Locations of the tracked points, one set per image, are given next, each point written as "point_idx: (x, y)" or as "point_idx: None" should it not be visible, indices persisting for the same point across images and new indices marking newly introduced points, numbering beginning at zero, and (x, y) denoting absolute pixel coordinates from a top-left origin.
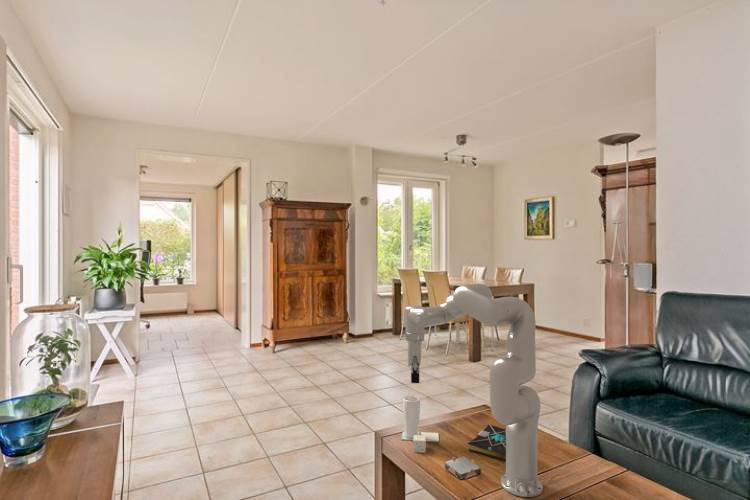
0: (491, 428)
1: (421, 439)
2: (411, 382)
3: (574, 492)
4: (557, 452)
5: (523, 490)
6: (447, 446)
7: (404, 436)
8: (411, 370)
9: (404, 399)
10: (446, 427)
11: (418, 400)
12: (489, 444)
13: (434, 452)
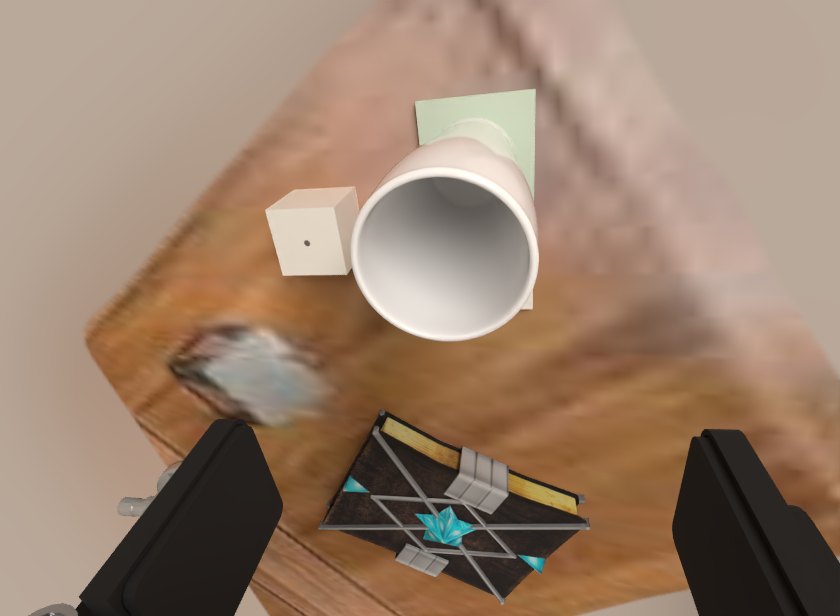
0: (541, 524)
1: (291, 254)
2: (217, 423)
3: None
4: (437, 606)
5: (118, 512)
6: (398, 341)
7: (453, 116)
8: (764, 528)
9: (386, 189)
10: (624, 347)
11: (404, 330)
12: (388, 491)
13: (324, 287)
